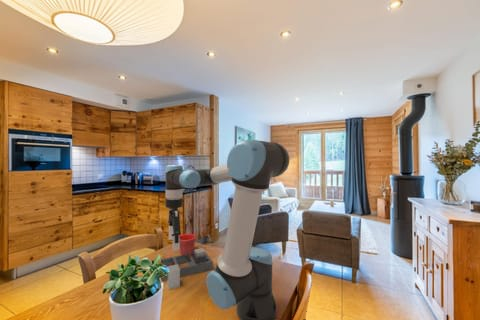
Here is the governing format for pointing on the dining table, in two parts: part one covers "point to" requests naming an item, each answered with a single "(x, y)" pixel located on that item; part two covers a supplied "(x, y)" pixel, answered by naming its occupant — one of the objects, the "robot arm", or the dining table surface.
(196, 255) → the seated nut
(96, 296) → the dining table surface
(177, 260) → the grey compartment tray
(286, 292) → the dining table surface
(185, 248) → the flower pot
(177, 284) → the block
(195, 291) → the dining table surface
